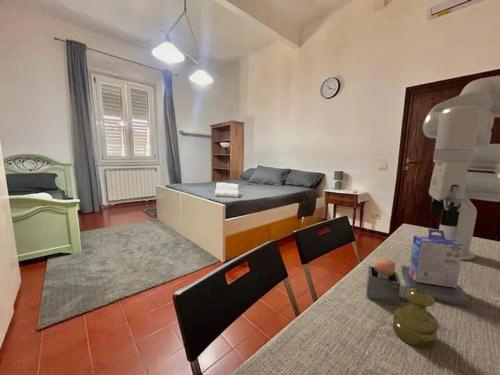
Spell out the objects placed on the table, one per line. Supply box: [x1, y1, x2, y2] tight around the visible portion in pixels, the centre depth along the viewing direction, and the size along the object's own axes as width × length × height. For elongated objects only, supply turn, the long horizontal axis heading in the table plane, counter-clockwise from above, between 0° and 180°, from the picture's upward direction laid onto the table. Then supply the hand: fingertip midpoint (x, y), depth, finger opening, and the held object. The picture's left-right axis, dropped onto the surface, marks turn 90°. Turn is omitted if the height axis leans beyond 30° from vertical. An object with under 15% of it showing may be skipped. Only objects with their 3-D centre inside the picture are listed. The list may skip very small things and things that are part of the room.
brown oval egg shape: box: [374, 257, 396, 280], centre depth 58 cm, size 4×4×6 cm
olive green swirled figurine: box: [392, 288, 440, 350], centre depth 46 cm, size 7×7×10 cm
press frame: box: [365, 265, 470, 309], centre depth 62 cm, size 21×22×6 cm
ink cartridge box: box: [409, 228, 464, 288], centre depth 62 cm, size 10×6×14 cm, turn 75°
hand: (442, 220), depth 61 cm, fingers open, 9 cm apart
